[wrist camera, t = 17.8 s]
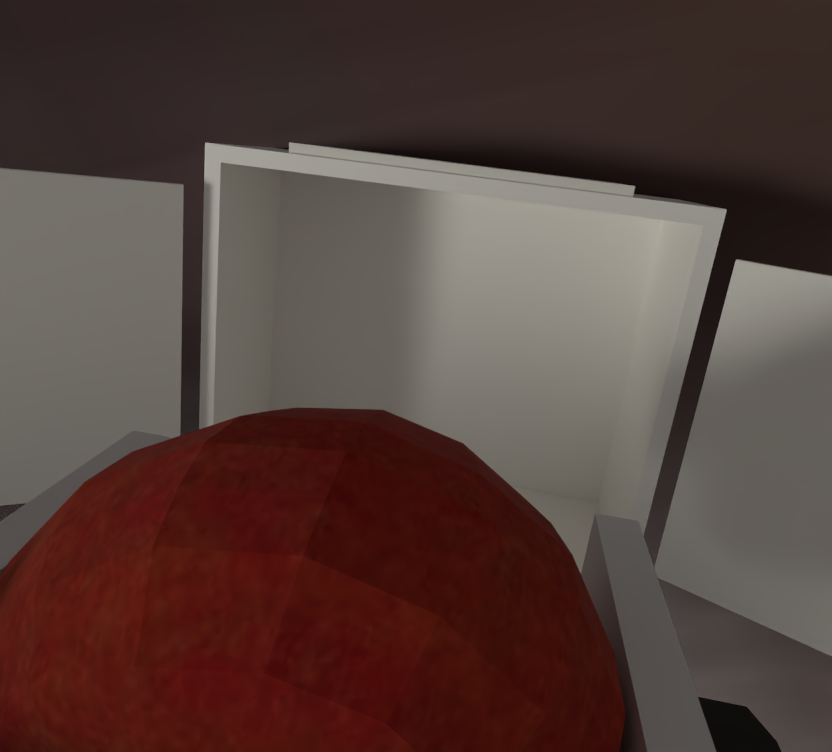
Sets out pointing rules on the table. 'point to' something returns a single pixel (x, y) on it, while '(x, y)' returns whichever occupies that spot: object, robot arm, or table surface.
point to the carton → (459, 311)
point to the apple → (302, 602)
